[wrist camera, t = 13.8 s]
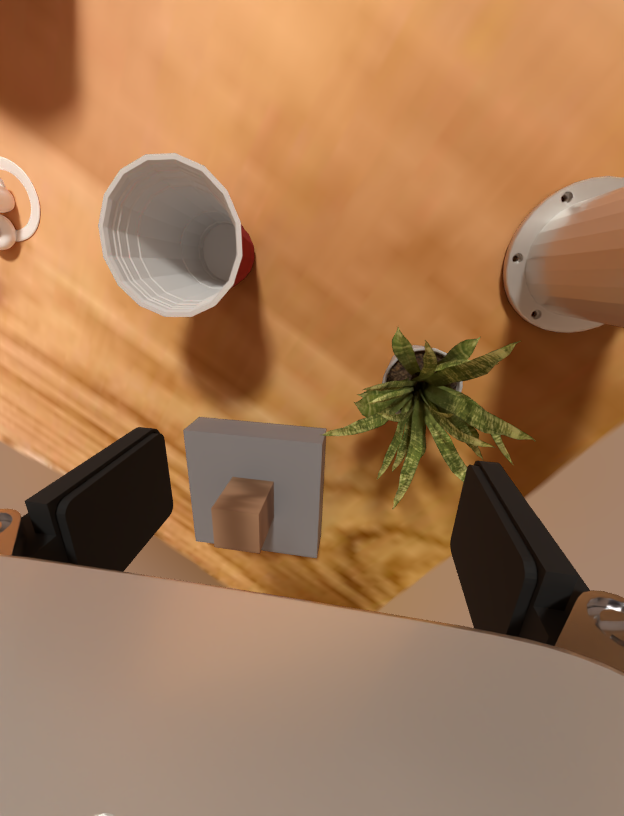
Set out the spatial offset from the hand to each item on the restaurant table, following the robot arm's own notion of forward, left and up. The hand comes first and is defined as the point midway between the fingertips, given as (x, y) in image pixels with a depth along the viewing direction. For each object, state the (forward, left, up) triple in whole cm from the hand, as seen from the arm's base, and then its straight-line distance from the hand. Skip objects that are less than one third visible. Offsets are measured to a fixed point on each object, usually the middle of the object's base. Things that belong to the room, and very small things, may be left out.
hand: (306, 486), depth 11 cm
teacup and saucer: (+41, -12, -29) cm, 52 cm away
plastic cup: (+13, -8, -28) cm, 32 cm away
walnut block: (+10, +19, -24) cm, 32 cm away
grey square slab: (+10, +19, -28) cm, 36 cm away
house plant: (-6, +4, -28) cm, 29 cm away
